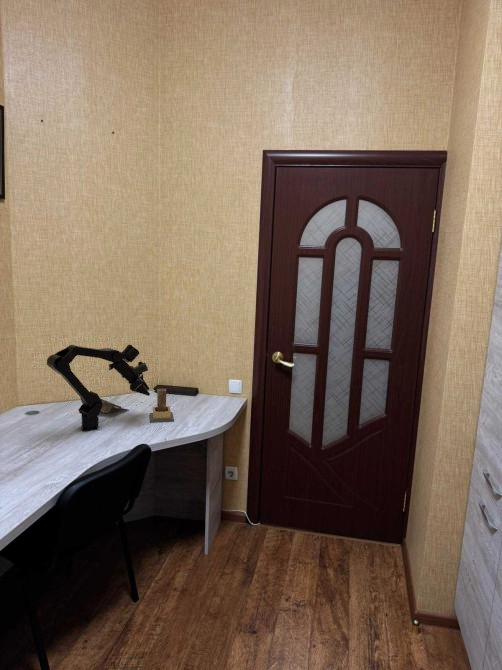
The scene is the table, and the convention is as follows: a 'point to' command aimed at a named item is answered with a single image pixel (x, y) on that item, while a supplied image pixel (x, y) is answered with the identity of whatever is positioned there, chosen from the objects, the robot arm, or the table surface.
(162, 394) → the rail post
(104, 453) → the table surface
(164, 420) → the gold square frame
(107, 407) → the wall
